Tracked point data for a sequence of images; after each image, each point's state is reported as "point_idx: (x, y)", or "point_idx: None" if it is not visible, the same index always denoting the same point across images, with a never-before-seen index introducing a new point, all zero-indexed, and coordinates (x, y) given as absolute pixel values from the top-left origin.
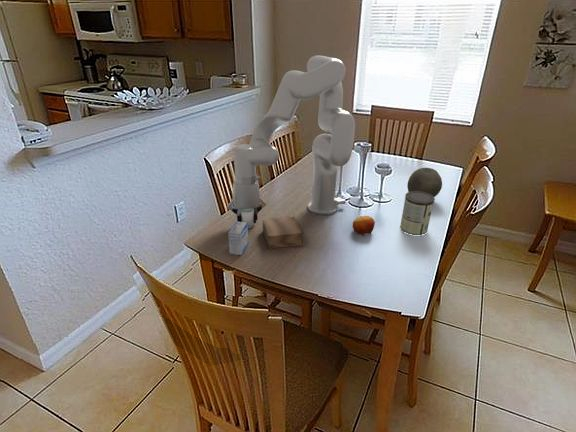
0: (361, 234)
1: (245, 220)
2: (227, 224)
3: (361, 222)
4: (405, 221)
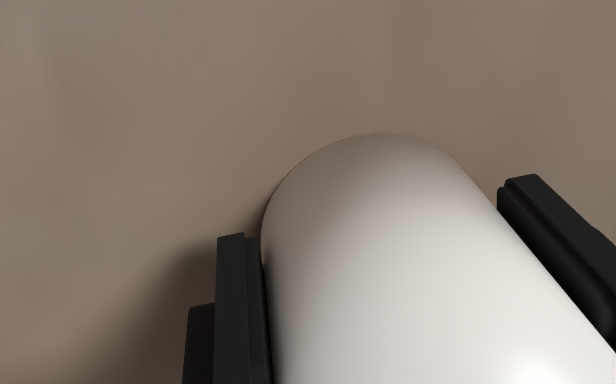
0: None
1: None
2: (2, 230)
3: None
4: None
